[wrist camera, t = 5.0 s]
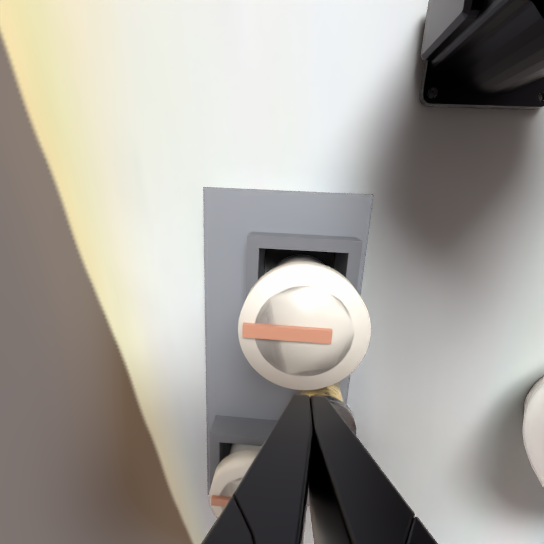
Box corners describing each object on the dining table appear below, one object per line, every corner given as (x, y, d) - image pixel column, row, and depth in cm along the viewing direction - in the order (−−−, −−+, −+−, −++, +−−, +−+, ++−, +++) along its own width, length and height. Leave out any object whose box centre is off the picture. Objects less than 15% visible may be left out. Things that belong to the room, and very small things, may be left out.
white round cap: (349, 245, 15) (381, 275, 10) (339, 330, 16) (363, 398, 11) (257, 240, 16) (237, 266, 10) (254, 324, 17) (236, 388, 11)
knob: (295, 403, 21) (296, 476, 16) (291, 456, 22) (290, 542, 17) (229, 397, 21) (207, 467, 16) (228, 450, 23) (208, 533, 17)
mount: (362, 194, 17) (381, 194, 14) (328, 474, 23) (336, 531, 19) (215, 188, 18) (194, 186, 14) (216, 463, 23) (201, 517, 19)
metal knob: (345, 359, 17) (359, 406, 14) (339, 402, 18) (352, 458, 14) (294, 356, 18) (294, 401, 14) (291, 398, 18) (291, 453, 15)
